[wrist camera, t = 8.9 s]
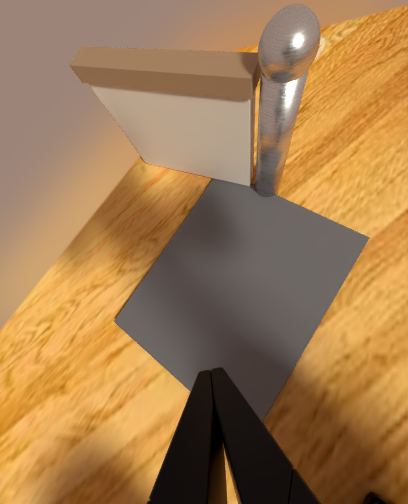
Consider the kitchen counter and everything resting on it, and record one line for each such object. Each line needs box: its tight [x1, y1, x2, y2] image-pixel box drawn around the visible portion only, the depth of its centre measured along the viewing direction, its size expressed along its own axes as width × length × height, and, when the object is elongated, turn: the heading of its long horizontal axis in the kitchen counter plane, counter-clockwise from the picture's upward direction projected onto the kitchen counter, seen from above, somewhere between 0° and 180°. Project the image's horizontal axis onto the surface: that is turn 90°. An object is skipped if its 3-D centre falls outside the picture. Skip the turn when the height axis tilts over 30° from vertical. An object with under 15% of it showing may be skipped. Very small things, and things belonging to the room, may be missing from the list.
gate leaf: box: [70, 47, 261, 186], centre depth 18 cm, size 13×2×11 cm, turn 69°
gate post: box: [255, 4, 320, 197], centre depth 15 cm, size 3×3×14 cm
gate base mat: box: [114, 178, 369, 422], centre depth 20 cm, size 16×20×1 cm
